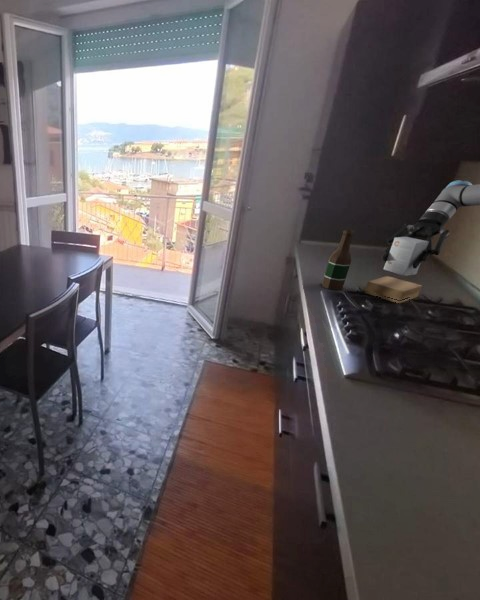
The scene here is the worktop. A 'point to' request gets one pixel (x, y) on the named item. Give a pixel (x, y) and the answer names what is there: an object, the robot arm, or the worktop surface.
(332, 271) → the beer bottle
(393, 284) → the birch block
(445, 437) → the worktop surface
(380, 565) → the worktop surface
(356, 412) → the worktop surface
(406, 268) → the small box
